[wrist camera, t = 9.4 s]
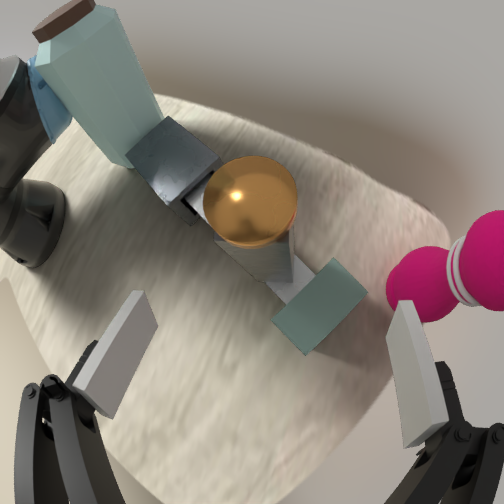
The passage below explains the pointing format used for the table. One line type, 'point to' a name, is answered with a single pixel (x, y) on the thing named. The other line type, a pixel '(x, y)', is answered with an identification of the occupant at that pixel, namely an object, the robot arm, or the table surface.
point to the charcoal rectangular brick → (173, 164)
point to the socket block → (319, 306)
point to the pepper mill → (454, 272)
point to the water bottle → (97, 76)
